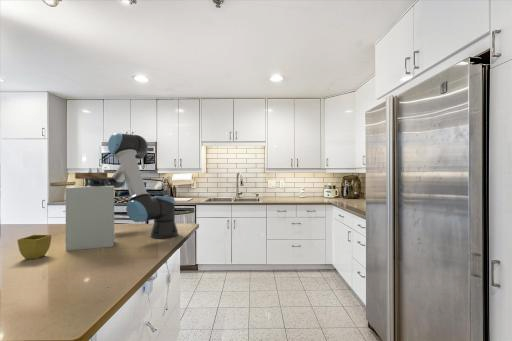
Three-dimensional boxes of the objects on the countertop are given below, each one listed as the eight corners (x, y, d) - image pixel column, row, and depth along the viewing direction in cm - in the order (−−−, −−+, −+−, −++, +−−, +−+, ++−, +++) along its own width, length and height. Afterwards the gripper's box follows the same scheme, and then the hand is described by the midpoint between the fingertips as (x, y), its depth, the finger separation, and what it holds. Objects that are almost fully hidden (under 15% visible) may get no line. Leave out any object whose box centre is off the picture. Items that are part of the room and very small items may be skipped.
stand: (114, 241, 152) (114, 185, 152) (112, 246, 143) (112, 186, 143) (70, 245, 144) (70, 186, 144) (65, 250, 135) (65, 187, 135)
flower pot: (36, 260, 120) (36, 239, 120) (16, 260, 121) (16, 239, 121) (52, 254, 129) (52, 234, 129) (33, 254, 129) (33, 234, 129)
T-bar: (110, 177, 167) (110, 172, 167) (106, 178, 148) (106, 172, 148) (83, 177, 162) (83, 172, 162) (75, 178, 142) (75, 172, 142)
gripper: (113, 194, 174) (110, 176, 155) (83, 195, 168) (75, 176, 149) (114, 183, 177) (110, 164, 158) (84, 184, 171) (77, 164, 152)
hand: (94, 170), depth 154 cm, fingers closed on T-bar, 3 cm apart
